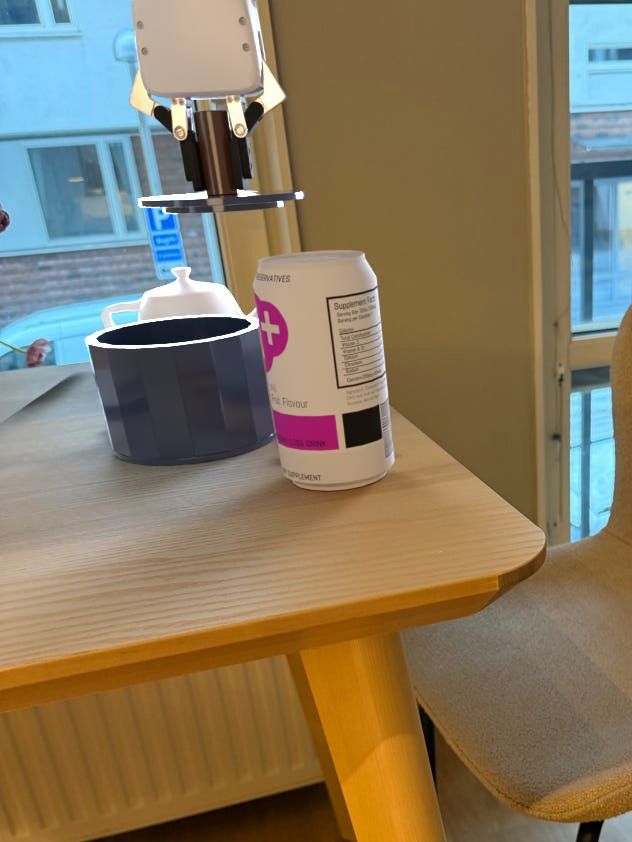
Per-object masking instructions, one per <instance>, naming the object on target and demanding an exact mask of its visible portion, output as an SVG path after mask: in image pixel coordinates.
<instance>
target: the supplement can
mask: <svg viewBox="0 0 632 842" xmlns="http://www.w3.org/2000/svg"><path fill="white" fill-rule="evenodd" d="M257 261H258V267H257V271H256V273H255V276H254V280H253V282H252V289H253V290H252V291H253V297H254V303H255V308H256V310H257V316H258V323H259V329H260V335H261V342H262V348H263V354H264V360H265V367H266V373H267V379H268V386H269V392H270V398H271V404H272V411H273V417H274V423H275V429H276V442H277V447H278V453H279V460H280V468H281V471H282V476H283V477H285V478H287V479H289V480H291V482H292V484H293V485H296V486H297V487H299V488H301V489H305V490H311V491H327V492H330V491H331V492H332V491H343V490H344V491H345V490H349V489H350V490H351V489H355V488H360V487H365V486H367V485H370V484H372V483H375V482H377V481H379V480H381V479H382V478H384V477H385V476H386V474H387V472H388V470H389V469H391V468H392V467H393V465H394V463H395V452H394V441H393V432H392V431H393V430H392V422H391V420H392V419H391V411H390V401H389V391H388V382H387V381H388V380H387V371H386V369H387V368H386V360H385V359H386V358H385V351H384V339H383V338H384V337H383V330H382V319H381V308H380V299H379V289H378V278H377V276H376V274H375V272H374V270H373V269H372V267H371V265H370V264H369V262H368V260H367V259H366V254H365V252H363V251H361V250H354V249H350V250H349V249H332V250H331V249H329V250H328V249H327V250H326V249H325V250H311V251H310V250H309V251H300V252H290V253H289V252H288V253H282V254H276V255H275V254H274V255H269V256H265V257H262V258H260V259H258V260H257Z"/></svg>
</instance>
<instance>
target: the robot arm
mask: <svg viewBox="0 0 632 842" xmlns="http://www.w3.org/2000/svg"><path fill="white" fill-rule="evenodd" d="M130 1H131V12H132V14H131V15H132V24H133V25H132V27H133V34H134V43H135V50H136V51H135V52H136V57H137V59H136V60H137V65H138V66H137V71H136V74H135V77H134V81H133V85H132V88H131V92H130V96H129V99H128V102H129V104H130V107H132V108H133V109H136V110H137V111H139V112H140V113H141V112H142V113H143V114H145V115H147V116H148V117H151V118H153V119H155V120H156V121H158V123H160V124H161V125H162V126H163V127H164V128H165V129H167V130H168V132H169V133H171V134H172V135H173V137H174V138H175V139H176V140H178V141H179V146H180V148H179V149H180V153H181V159H182V165H183V170H184V177H185V180H186V182H189V183H190V182H191V183H192V188H193V191H194V192H195V193H202V192H205V186H204V180H203V174H202V167H201V161H200V155H199V149H198V142H197V136H196V131H195V125H194V118H193V112H194V111H193V101H194V100H219V99H222V100H223V99H225V101H226V105H227V111H228V113H229V120H230V124H231V127H232V128H231V135H232V138H230V139H231V140H229V147H230V154H231V160H232V167H233V174H234V181H235V187H236V188H238V190H240V191H246V190H249V189H250V182H249V180H254V179H255V172H254V171H255V170H254V164H253V156H252V150H251V144H250V137H251V136H252V135H253V132H254V131H255V130H256V128H257V127H258V126H259V124H260V123H261V121H262V120H263V119H264V117H265V116H266V115H267V114H268V113H270V112H272V111H273V110H275V109H276V108H277V107H279V106H280V105H282V104H283V103H284V102H285V101H286V99H287V95H286V92H285V91H284V89H283V87H282V86H281V84H280V83H279V80H278V79H277V77H276V76H275V74H274V72H273V71H272V69H271V66H269V64H268V62H267V60H266V53H265V47H264V40H263V34H262V29H261V23H260V18H259V13H258V7H257V2H256V0H130ZM259 95H260V96H259ZM153 96H154V97H157V98H162V99H163V98H164V99H167V100H170V108H169V107H168V106H166V105H164V104H162V103H160V102H158V101H156V100H154V98H153ZM257 96H259V97H258V98H257V99H255V100H254V101H252V102H251V103H249V105H247V101H246V98H251V97H257Z"/></svg>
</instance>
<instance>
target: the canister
mask: <svg viewBox="0 0 632 842" xmlns="http://www.w3.org/2000/svg"><path fill="white" fill-rule="evenodd" d="M246 316H247V315H245V316H238V315H200V316H184V317H173V318H164V319H156V320H148V321H142V322H138V321H137V322H132V323H127V324H121V325H116V327H113V328H109V329H106V328H105V329H103V330H100V331H96V332H94V333H93V334H91V335H89V336H87V337H85V338H84V343H85V346H86V350H87V355H88V358H89V362H90V367H91V370H92V374H93V378H94V382H95V386H96V390H97V391H96V392H97V394H98V398H99V402H100V406H101V411H102V415H103V419H104V424H105V427H106V431H107V434H108V439H109V442H110V443H109V444H110V445H111V448H112V451H113V454H114V455H115V457H116V458H118V459H119V460H121V461H124V462H127V463H131V464H137V465H146V466H149V465H150V466H178V465H179V466H180V465H191V464H197V463H198V464H201V463H205V462H212V461H217V460H222V459H226V458H231V457H236V456H239V455H242V454H247V453H249V452H251V451H254V450H257V449H259V448H262V447H263V446H266V445H268V444H269V443H270V442H272V441H273V440H274V439H276V438H277V436H276V429H275V423H274V417H273V411H272V404H271V398H270V392H269V386H268V379H267V373H266V367H265V360H264V354H263V348H262V342H261V335H260V329H259V323H258V319H256V318H253V317H246Z"/></svg>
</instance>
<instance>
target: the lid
mask: <svg viewBox="0 0 632 842" xmlns="http://www.w3.org/2000/svg"><path fill="white" fill-rule="evenodd" d="M193 125H194V131H195V133H196V136H197V142H198V149H199V155H200V161H201V167H202V174H203V180H204V186H205V191H204V192H197V193H186V194H172V195H171V194H170V195H159V196H149V197H141V198H138V206H139V207H140V208H148V209H149V208H151V209H152V208H153V209H155V208H156V209H159V208H161V209H162V212H163V213H164V214H170V215H171V214H172V215H177V214H178V215H182V214H183V215H185V214H187V215H189V214H192V215H193V214H215V213H233V212H247V211H248V212H250V211H260V210H271V209H280V208H284V207H286V206H287V203H286V202H289V201H296V200H303V199H306V198H307V193H306V190H305V189H263V190H238V188H236V187H235V181H234V174H233V167H232V160H231V154H230V147H229V140H231V139H230V138H232V135H231V131H232V128H231V127H232V126H231V119H230V115H229V111H228V109H218V110H217V109H213V110H210V109H209V110H195V111H193Z"/></svg>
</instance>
